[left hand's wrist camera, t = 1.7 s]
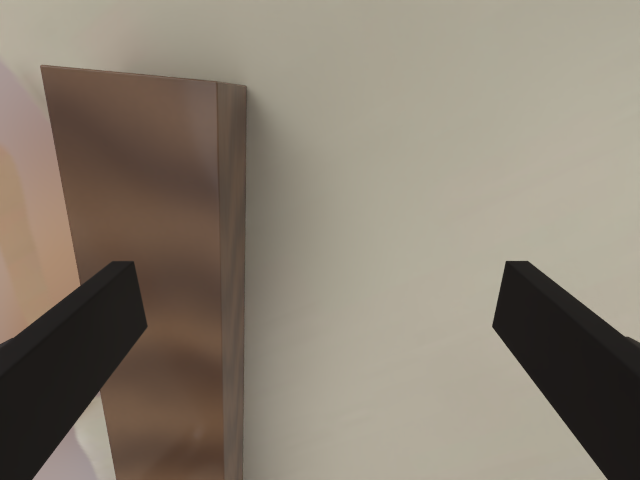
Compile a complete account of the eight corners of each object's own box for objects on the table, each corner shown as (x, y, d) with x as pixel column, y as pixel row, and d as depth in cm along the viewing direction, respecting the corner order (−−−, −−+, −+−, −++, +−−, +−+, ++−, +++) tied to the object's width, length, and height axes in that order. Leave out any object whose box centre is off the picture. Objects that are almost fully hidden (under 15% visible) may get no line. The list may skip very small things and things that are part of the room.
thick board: (119, 73, 25) (38, 64, 18) (246, 85, 25) (217, 81, 18) (172, 549, 45) (144, 633, 38) (242, 552, 45) (227, 637, 38)
